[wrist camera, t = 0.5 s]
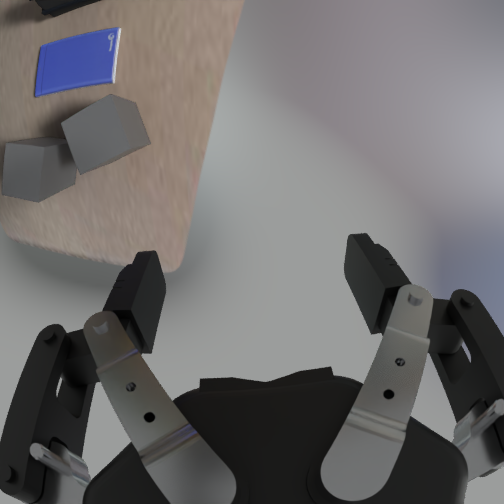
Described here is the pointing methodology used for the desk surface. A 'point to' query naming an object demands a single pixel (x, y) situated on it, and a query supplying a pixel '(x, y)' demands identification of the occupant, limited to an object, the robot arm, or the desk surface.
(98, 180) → the desk surface
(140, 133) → the grey tall block
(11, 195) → the cube cover
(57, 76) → the hard drive
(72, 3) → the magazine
